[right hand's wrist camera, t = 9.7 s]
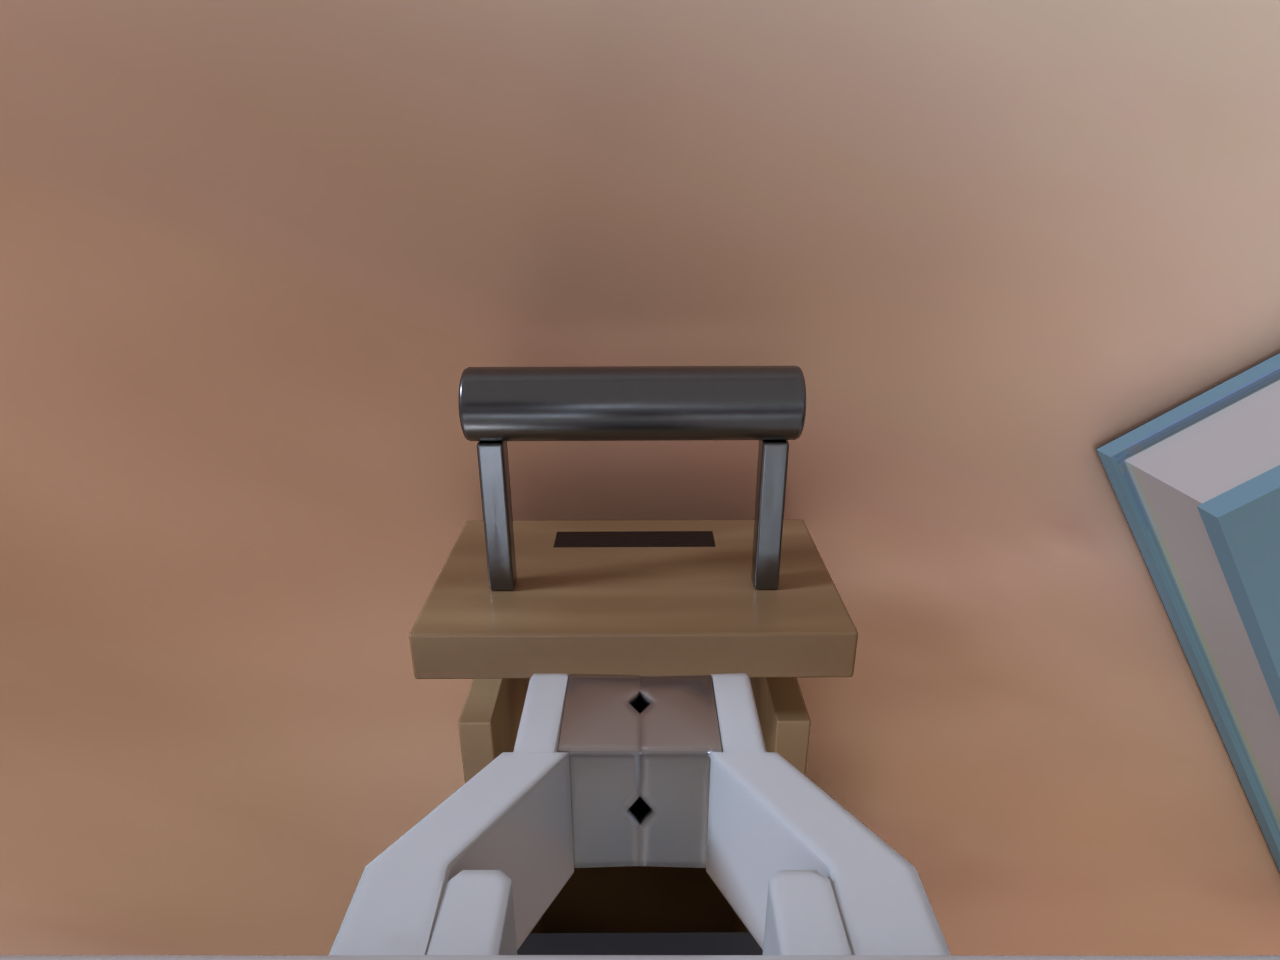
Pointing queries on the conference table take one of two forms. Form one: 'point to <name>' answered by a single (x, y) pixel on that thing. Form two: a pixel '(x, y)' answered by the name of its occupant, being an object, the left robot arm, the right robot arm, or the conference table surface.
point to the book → (1218, 558)
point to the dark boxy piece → (641, 944)
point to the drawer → (633, 591)
